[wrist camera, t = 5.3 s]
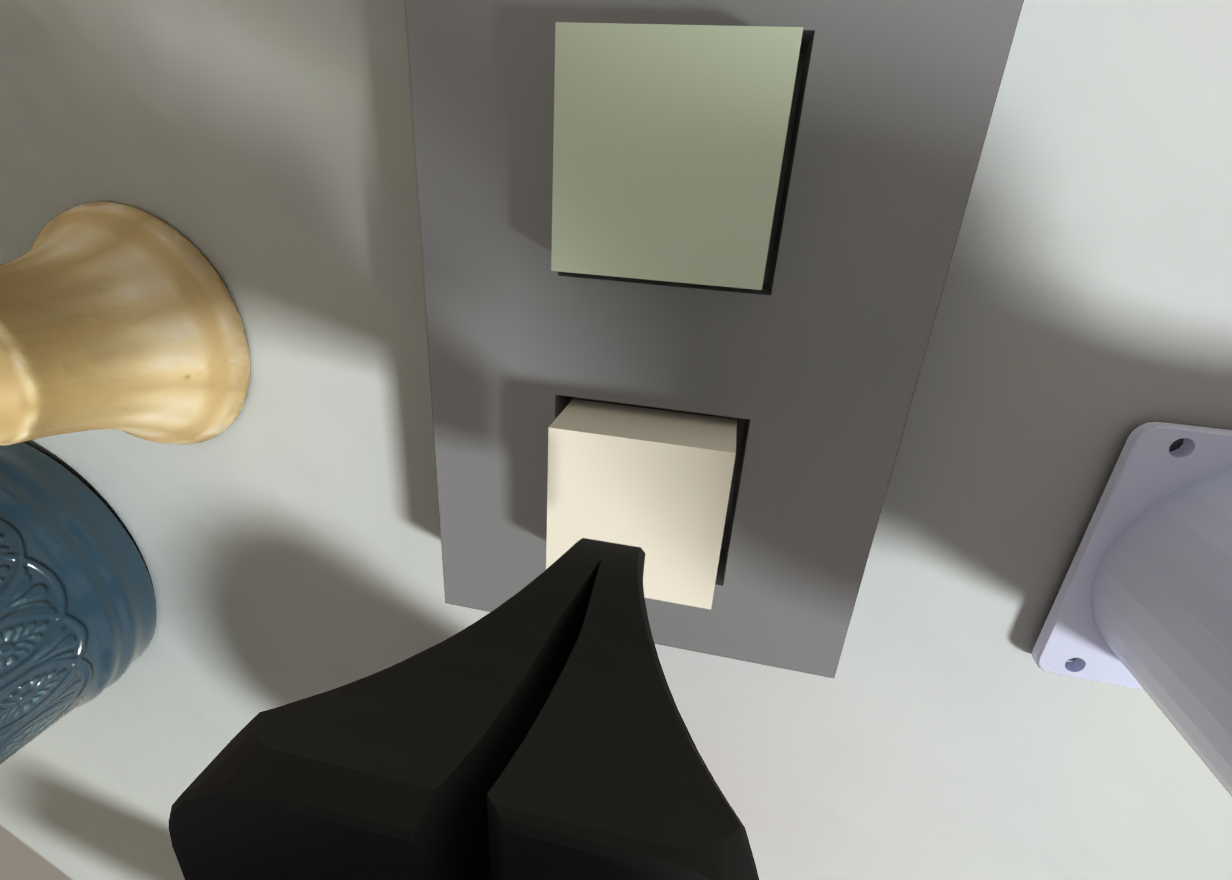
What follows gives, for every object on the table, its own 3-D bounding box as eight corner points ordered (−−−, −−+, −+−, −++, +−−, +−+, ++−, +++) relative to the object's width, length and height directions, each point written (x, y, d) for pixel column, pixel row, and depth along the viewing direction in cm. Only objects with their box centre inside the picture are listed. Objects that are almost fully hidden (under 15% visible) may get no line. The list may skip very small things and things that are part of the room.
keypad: (1178, -764, 9) (1333, -1108, 6) (822, 620, 19) (833, 678, 17) (432, -633, 11) (347, -863, 8) (477, 559, 21) (445, 603, 18)
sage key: (793, 56, 12) (803, 27, 10) (758, 276, 14) (761, 290, 12) (585, 50, 13) (555, 22, 11) (577, 260, 14) (551, 270, 12)
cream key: (736, 419, 15) (735, 453, 13) (715, 560, 17) (711, 609, 15) (573, 398, 16) (548, 427, 14) (568, 536, 17) (546, 579, 15)
